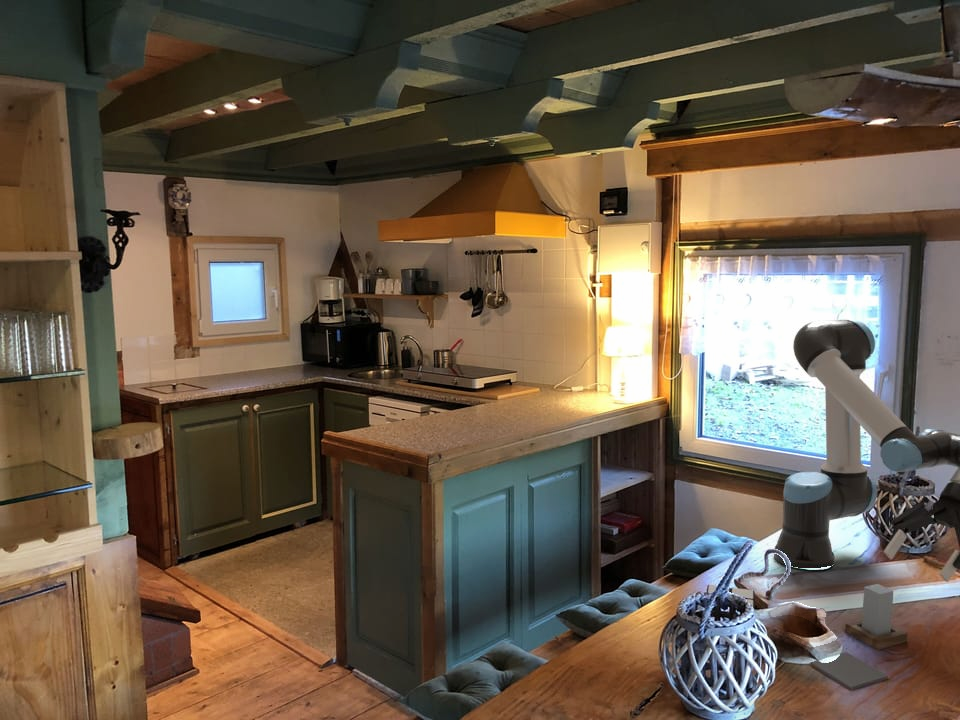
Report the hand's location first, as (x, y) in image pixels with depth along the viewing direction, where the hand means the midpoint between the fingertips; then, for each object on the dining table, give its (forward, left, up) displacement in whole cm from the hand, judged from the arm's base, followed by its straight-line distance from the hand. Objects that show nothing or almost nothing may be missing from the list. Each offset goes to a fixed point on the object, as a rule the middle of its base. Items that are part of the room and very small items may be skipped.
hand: (914, 566), depth 171 cm
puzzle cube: (-12, -40, -15) cm, 44 cm away
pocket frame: (0, -10, -14) cm, 18 cm away
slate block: (0, -10, -15) cm, 18 cm away
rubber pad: (+8, -27, -14) cm, 32 cm away
